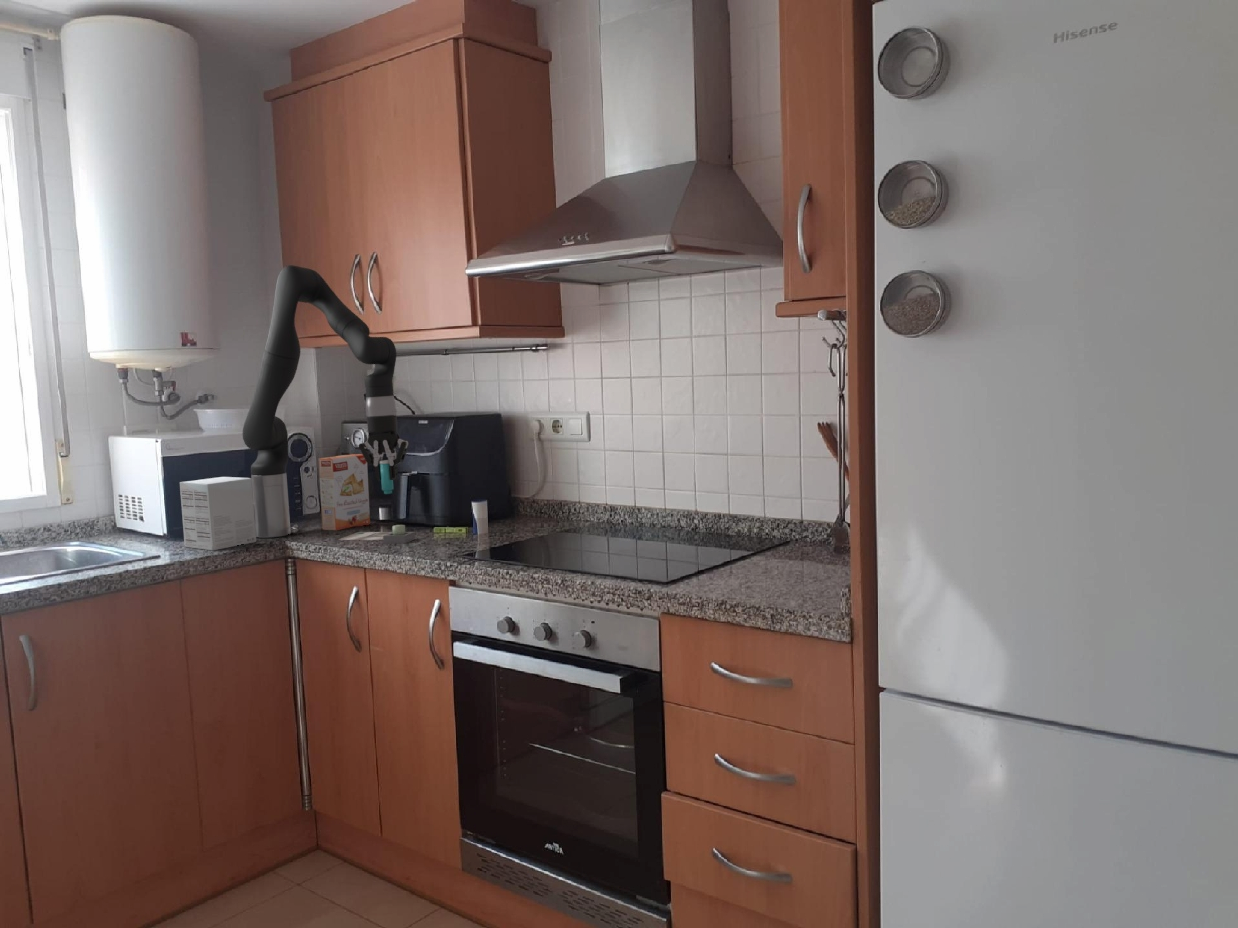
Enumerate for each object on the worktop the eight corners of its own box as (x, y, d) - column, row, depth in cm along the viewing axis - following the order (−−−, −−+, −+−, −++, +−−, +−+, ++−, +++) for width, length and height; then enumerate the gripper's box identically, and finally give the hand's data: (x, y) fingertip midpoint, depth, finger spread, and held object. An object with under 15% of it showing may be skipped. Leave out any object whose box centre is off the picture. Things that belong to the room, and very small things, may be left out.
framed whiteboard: (334, 542, 258) (333, 539, 258) (357, 534, 271) (357, 531, 271) (390, 542, 255) (390, 539, 255) (411, 534, 267) (411, 531, 267)
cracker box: (337, 532, 275) (332, 458, 273) (321, 531, 277) (316, 458, 275) (372, 524, 287) (367, 453, 285) (356, 523, 290) (351, 453, 288)
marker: (380, 494, 256) (377, 461, 255) (385, 492, 259) (382, 460, 258) (391, 494, 255) (388, 461, 254) (396, 492, 258) (393, 459, 257)
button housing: (383, 545, 251) (383, 535, 251) (393, 541, 257) (393, 531, 256) (405, 545, 249) (404, 535, 249) (415, 541, 255) (414, 531, 255)
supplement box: (227, 538, 271) (223, 476, 269) (257, 542, 264) (252, 477, 262) (183, 547, 260) (177, 481, 258) (212, 550, 253) (207, 483, 251)
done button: (390, 538, 252) (390, 526, 251) (396, 536, 255) (395, 524, 254) (402, 538, 251) (401, 526, 251) (407, 536, 254) (406, 524, 254)
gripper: (349, 416, 253) (355, 483, 254) (400, 413, 250) (406, 480, 251) (362, 414, 260) (368, 479, 262) (412, 412, 257) (417, 477, 259)
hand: (386, 479), depth 256 cm, fingers closed on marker, 3 cm apart
